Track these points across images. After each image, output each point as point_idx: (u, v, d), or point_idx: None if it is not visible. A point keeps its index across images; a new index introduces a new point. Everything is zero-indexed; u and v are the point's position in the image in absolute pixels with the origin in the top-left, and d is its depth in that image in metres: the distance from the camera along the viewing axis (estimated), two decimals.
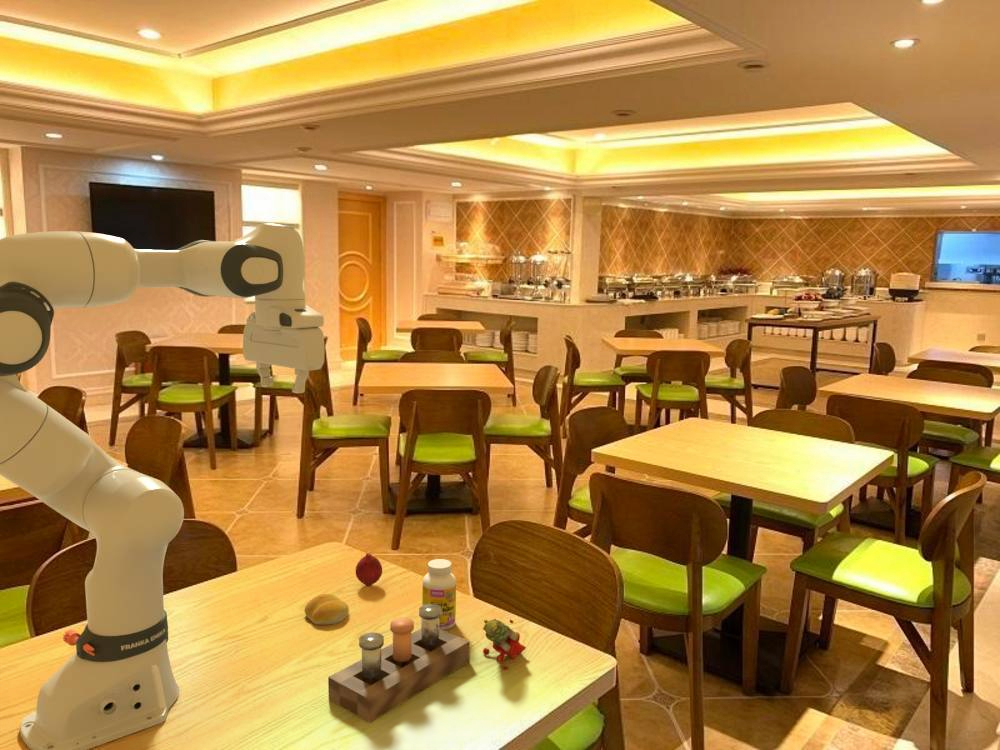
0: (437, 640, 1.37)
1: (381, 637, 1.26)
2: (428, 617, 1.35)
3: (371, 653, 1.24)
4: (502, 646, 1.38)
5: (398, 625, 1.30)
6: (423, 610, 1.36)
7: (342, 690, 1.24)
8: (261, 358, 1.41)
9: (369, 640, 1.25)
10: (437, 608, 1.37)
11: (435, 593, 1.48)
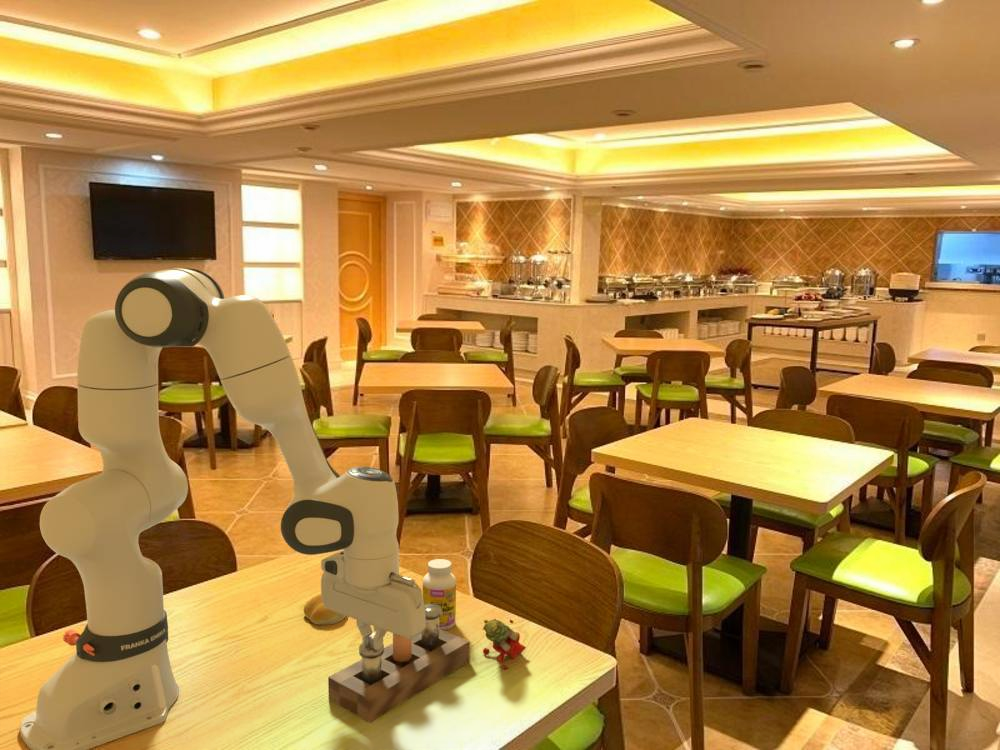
0: (437, 640, 1.37)
1: None
2: (428, 617, 1.35)
3: (371, 661, 1.25)
4: (502, 646, 1.38)
5: None
6: None
7: (342, 690, 1.24)
8: None
9: (369, 648, 1.25)
10: (437, 608, 1.37)
11: (435, 593, 1.48)
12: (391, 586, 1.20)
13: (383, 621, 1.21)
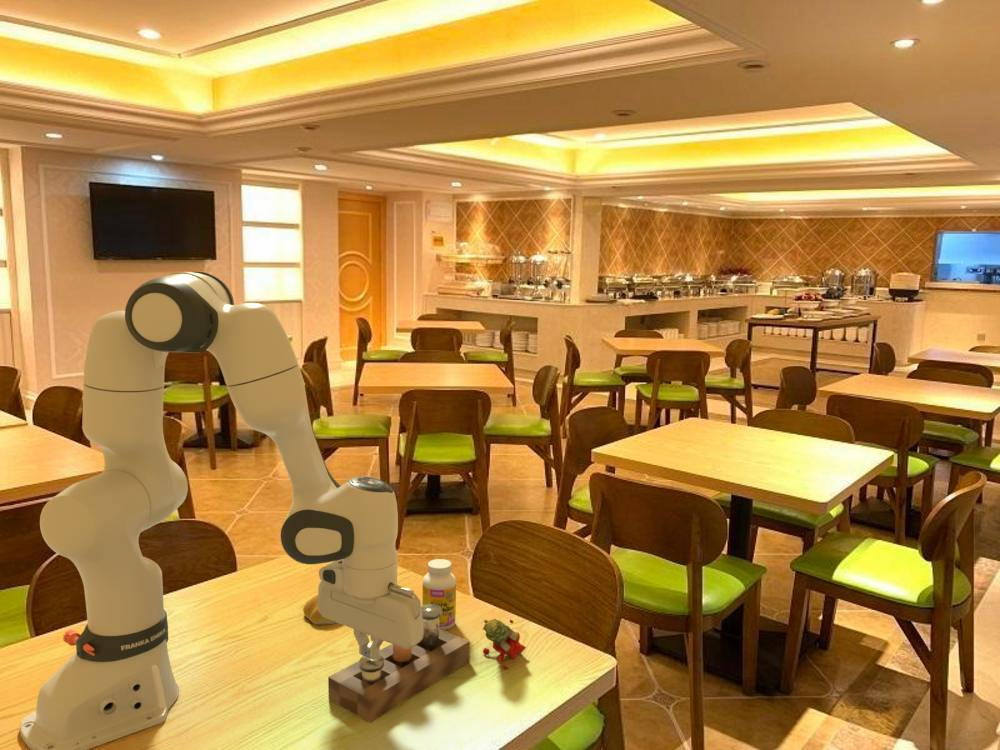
0: (437, 640, 1.37)
1: (381, 659, 1.27)
2: (428, 617, 1.35)
3: (371, 675, 1.25)
4: (502, 646, 1.38)
5: None
6: (423, 610, 1.36)
7: (342, 690, 1.24)
8: None
9: (369, 662, 1.26)
10: (437, 608, 1.37)
11: (435, 593, 1.48)
12: (390, 596, 1.21)
13: (381, 631, 1.22)
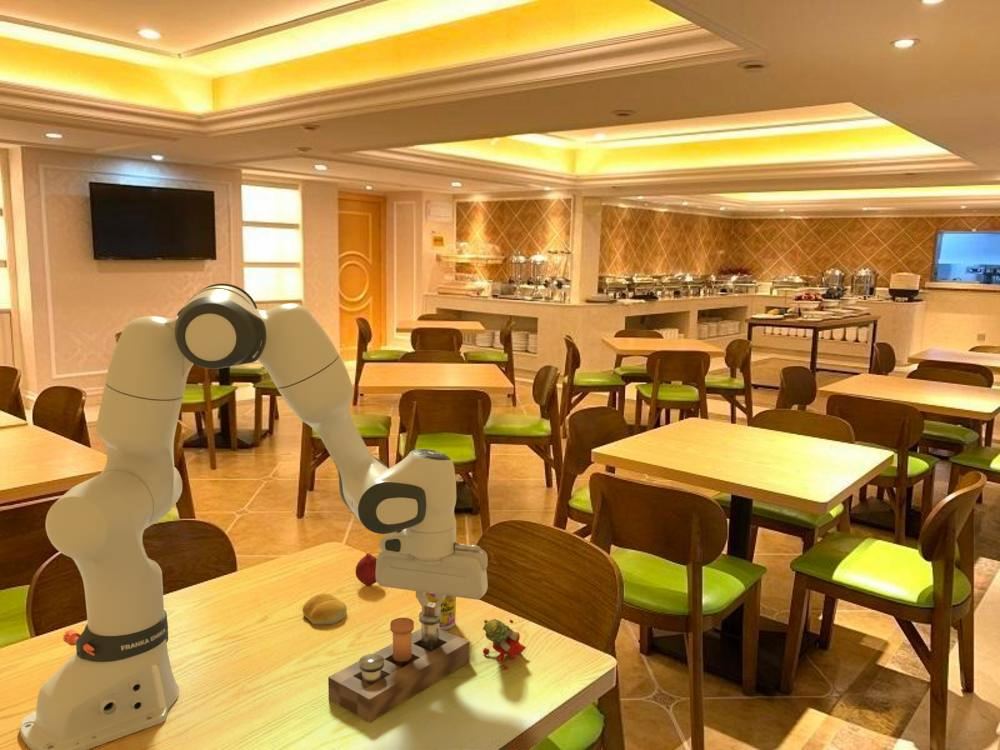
0: (437, 645, 1.37)
1: (381, 659, 1.27)
2: (428, 622, 1.35)
3: (371, 675, 1.25)
4: (502, 646, 1.38)
5: (398, 625, 1.30)
6: (423, 615, 1.36)
7: (342, 690, 1.24)
8: None
9: (369, 662, 1.26)
10: None
11: None
12: (456, 555, 1.32)
13: (449, 588, 1.33)
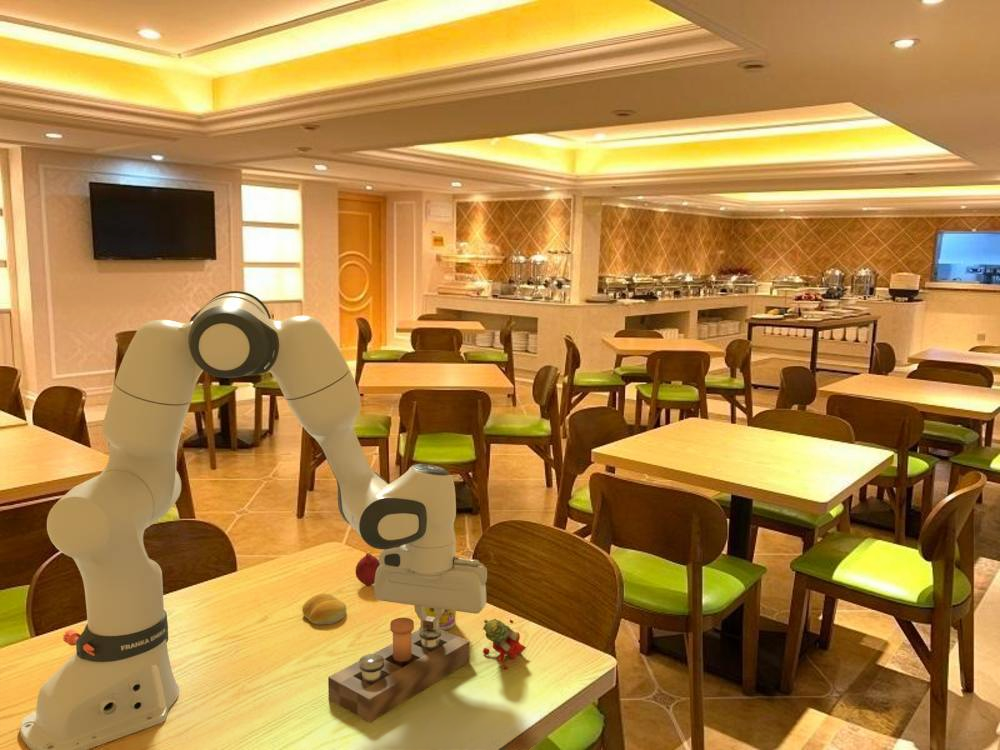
0: None
1: (381, 659, 1.27)
2: (428, 637, 1.35)
3: (371, 675, 1.25)
4: (502, 646, 1.38)
5: (398, 625, 1.30)
6: (423, 630, 1.36)
7: (342, 690, 1.24)
8: None
9: (369, 662, 1.26)
10: None
11: None
12: (456, 569, 1.33)
13: (449, 602, 1.33)
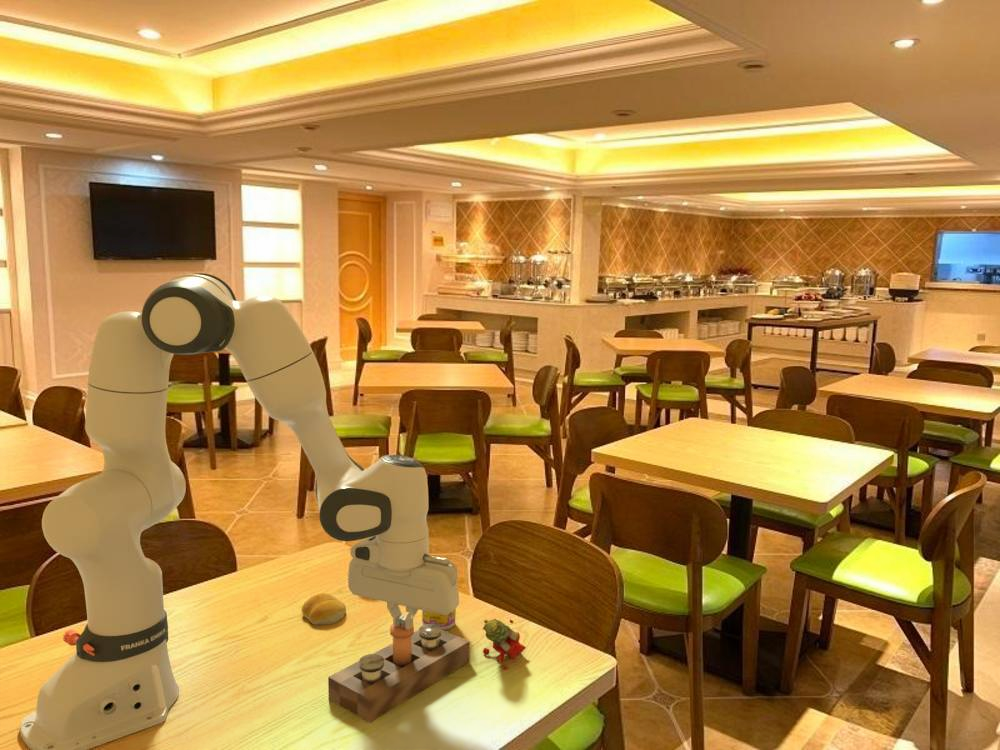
0: None
1: (381, 659, 1.27)
2: (428, 637, 1.35)
3: (371, 675, 1.25)
4: (502, 646, 1.38)
5: (398, 629, 1.30)
6: (423, 630, 1.36)
7: (342, 690, 1.24)
8: None
9: (369, 662, 1.26)
10: (437, 628, 1.37)
11: None
12: (426, 567, 1.26)
13: (418, 601, 1.27)
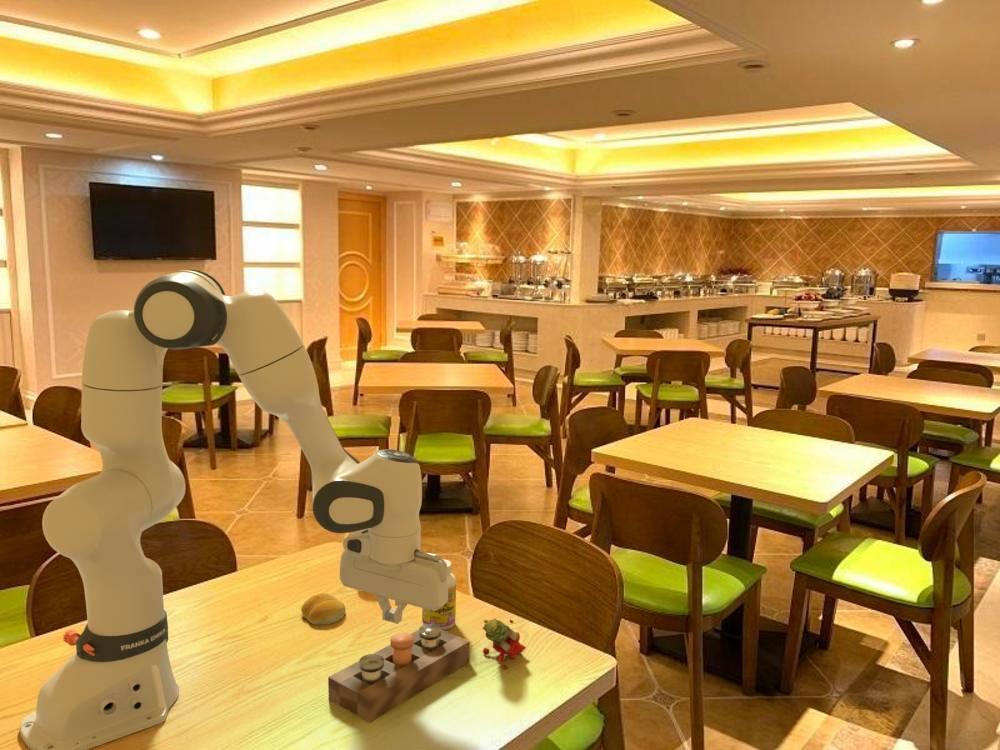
0: None
1: (381, 659, 1.27)
2: (428, 637, 1.35)
3: (371, 675, 1.25)
4: (502, 646, 1.38)
5: (398, 641, 1.31)
6: (423, 630, 1.36)
7: (342, 690, 1.24)
8: None
9: (369, 662, 1.26)
10: (437, 628, 1.37)
11: None
12: (416, 562, 1.27)
13: (407, 595, 1.28)
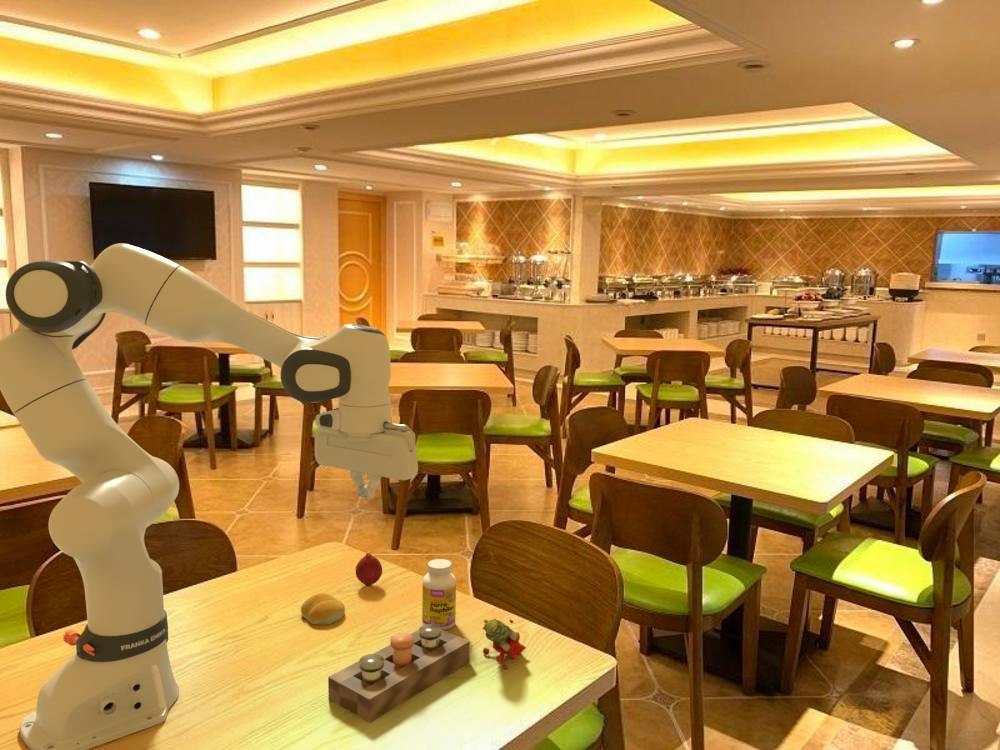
0: None
1: (381, 659, 1.27)
2: (428, 637, 1.35)
3: (371, 675, 1.25)
4: (502, 646, 1.38)
5: (398, 641, 1.31)
6: (423, 630, 1.36)
7: (342, 690, 1.24)
8: None
9: (369, 662, 1.26)
10: (437, 628, 1.37)
11: (435, 593, 1.48)
12: (385, 433, 1.28)
13: (377, 467, 1.29)
